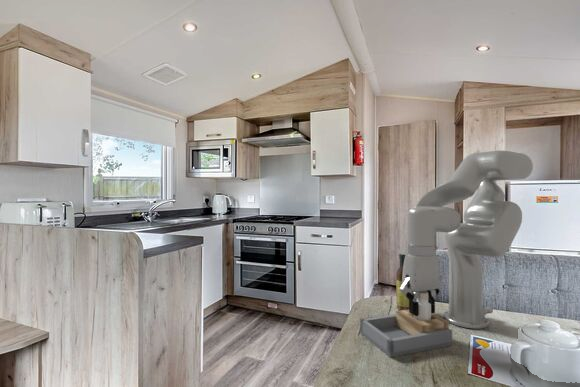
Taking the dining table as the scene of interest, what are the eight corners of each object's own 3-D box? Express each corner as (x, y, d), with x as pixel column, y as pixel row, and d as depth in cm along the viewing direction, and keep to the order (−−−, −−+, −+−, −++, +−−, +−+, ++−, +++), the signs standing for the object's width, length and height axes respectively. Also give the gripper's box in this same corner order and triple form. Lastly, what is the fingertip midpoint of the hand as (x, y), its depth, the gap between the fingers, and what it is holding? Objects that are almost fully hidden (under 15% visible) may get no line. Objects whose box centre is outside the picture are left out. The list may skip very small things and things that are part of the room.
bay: (415, 324, 96) (415, 311, 96) (452, 345, 82) (452, 330, 82) (360, 333, 89) (360, 319, 89) (389, 357, 76) (389, 341, 76)
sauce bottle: (416, 313, 104) (416, 256, 104) (397, 312, 105) (397, 255, 105) (413, 306, 110) (413, 252, 110) (395, 305, 111) (395, 251, 111)
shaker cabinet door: (420, 322, 94) (420, 307, 94) (448, 337, 84) (448, 321, 84) (396, 326, 91) (396, 311, 91) (422, 342, 81) (422, 325, 81)
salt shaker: (417, 320, 90) (417, 288, 90) (431, 324, 88) (431, 291, 88) (413, 325, 87) (413, 292, 87) (427, 328, 85) (427, 295, 85)
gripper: (435, 246, 94) (435, 305, 94) (388, 250, 89) (389, 311, 89) (455, 251, 87) (455, 314, 87) (406, 255, 82) (406, 322, 82)
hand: (421, 312), depth 88 cm, fingers closed on salt shaker, 5 cm apart
